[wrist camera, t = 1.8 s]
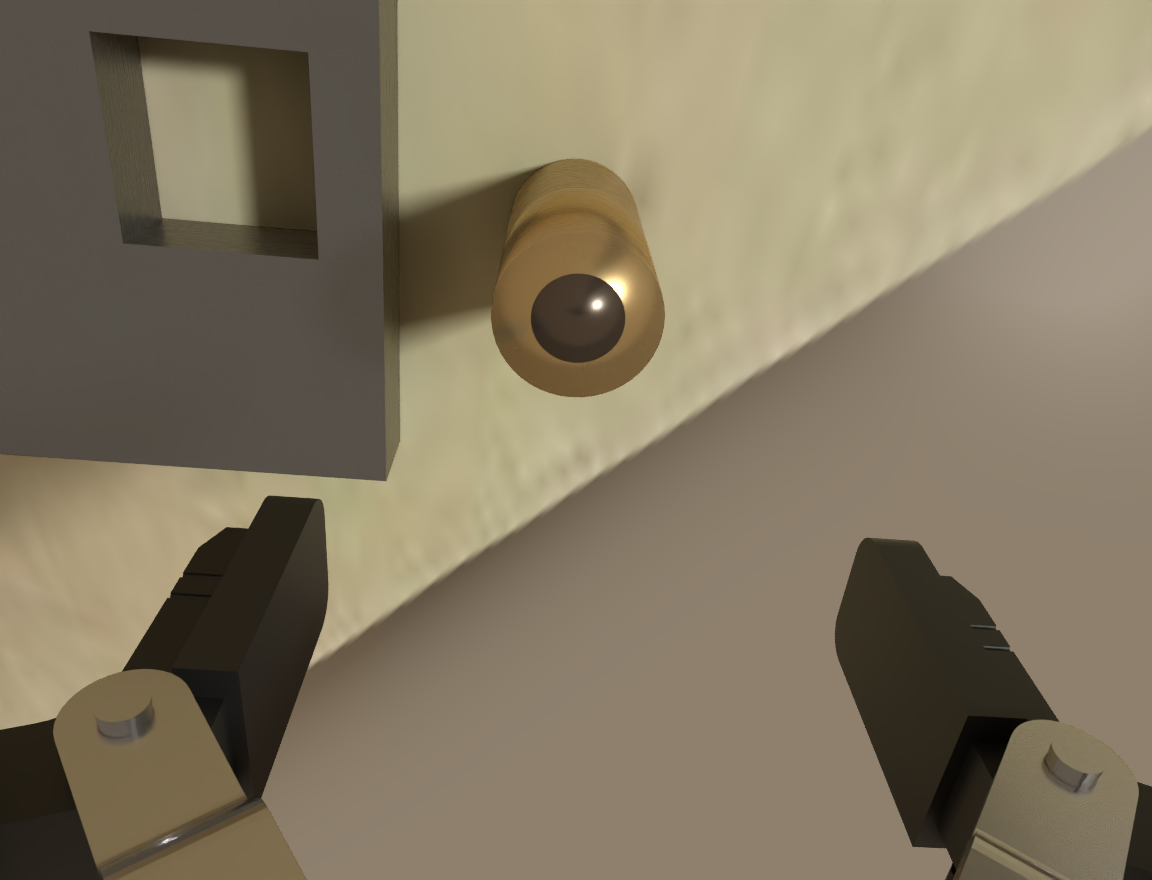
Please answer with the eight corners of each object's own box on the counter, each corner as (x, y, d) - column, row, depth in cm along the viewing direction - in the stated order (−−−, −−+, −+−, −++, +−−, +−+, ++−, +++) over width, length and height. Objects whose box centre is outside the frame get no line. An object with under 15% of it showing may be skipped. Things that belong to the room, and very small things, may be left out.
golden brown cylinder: (513, 152, 29) (495, 225, 21) (645, 165, 29) (676, 241, 21) (506, 280, 31) (487, 390, 23) (630, 291, 31) (652, 403, 23)
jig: (-156, -79, 25) (-239, -84, 23) (396, -23, 26) (378, -21, 24) (-26, 409, 33) (-76, 448, 31) (399, 440, 34) (386, 481, 31)
